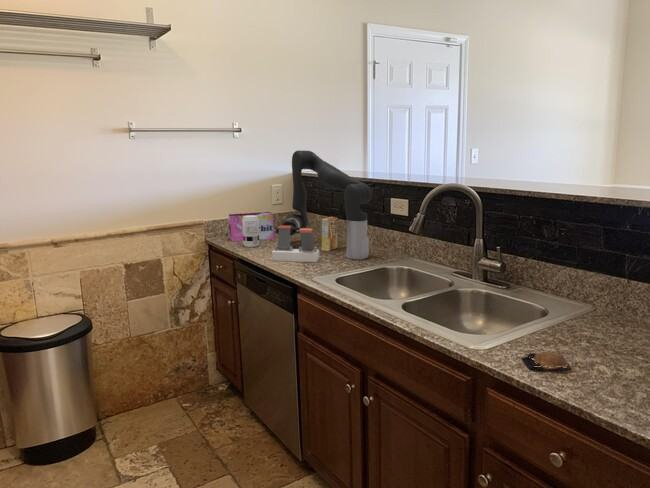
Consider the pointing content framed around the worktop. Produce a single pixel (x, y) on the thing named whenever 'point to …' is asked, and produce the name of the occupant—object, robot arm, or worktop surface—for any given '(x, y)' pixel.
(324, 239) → the candy box
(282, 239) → the far paddle
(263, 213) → the gum box
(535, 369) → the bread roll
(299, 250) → the white paddle base
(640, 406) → the worktop surface
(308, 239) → the near paddle
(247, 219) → the supplement can
